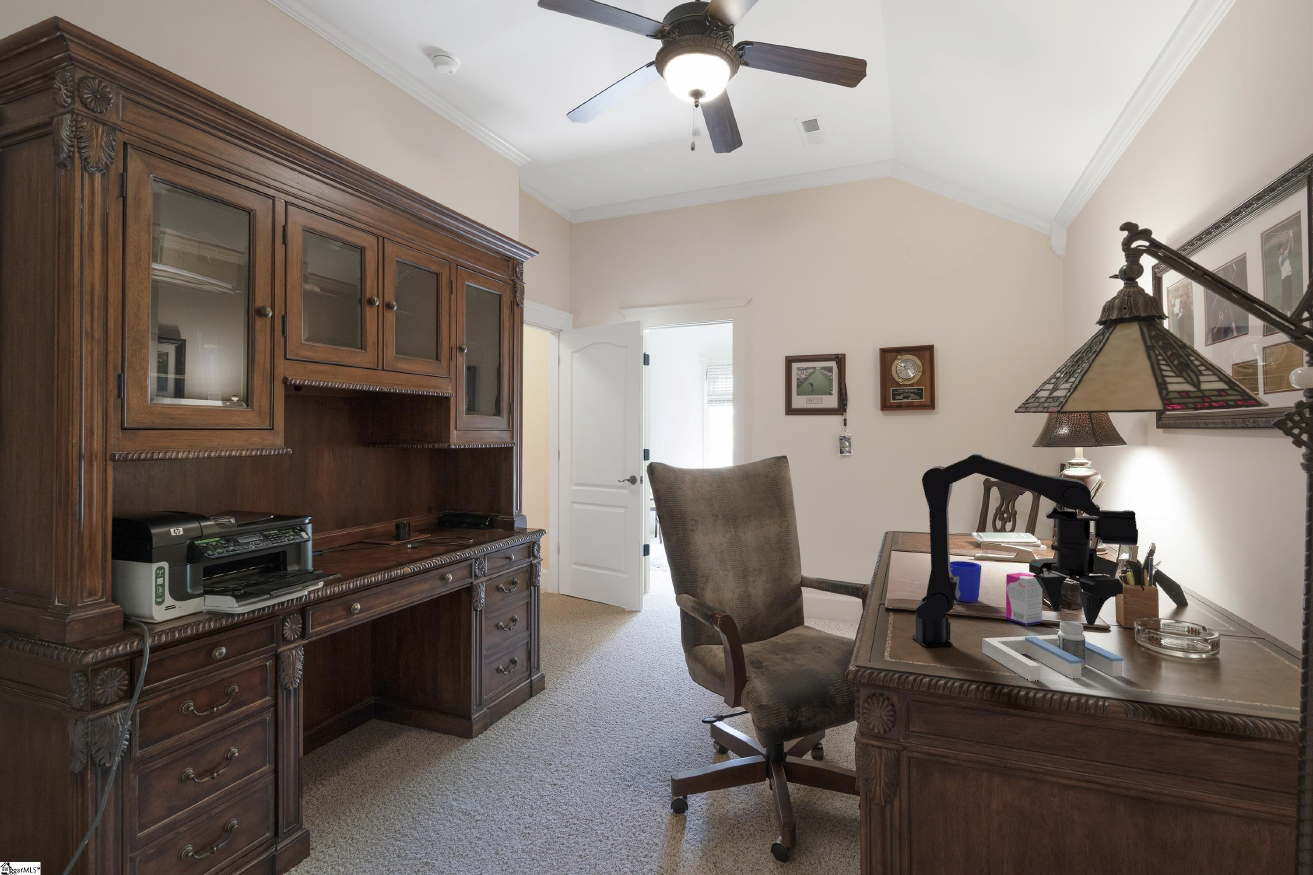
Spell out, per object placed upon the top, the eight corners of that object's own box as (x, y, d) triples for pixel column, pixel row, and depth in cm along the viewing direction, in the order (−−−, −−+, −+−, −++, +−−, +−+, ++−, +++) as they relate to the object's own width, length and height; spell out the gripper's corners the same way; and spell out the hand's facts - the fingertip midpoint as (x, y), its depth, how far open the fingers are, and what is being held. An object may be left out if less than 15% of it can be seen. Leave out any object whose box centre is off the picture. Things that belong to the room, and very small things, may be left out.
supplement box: (1043, 622, 152) (1043, 576, 152) (1026, 626, 150) (1026, 579, 149) (1021, 615, 157) (1021, 571, 157) (1004, 618, 155) (1004, 573, 155)
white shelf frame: (1030, 681, 119) (1030, 662, 119) (982, 652, 134) (982, 635, 134) (1123, 676, 120) (1123, 657, 120) (1065, 647, 135) (1065, 631, 135)
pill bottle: (1091, 667, 125) (1091, 626, 124) (1071, 670, 124) (1071, 628, 123) (1070, 659, 129) (1071, 619, 129) (1051, 661, 128) (1052, 621, 128)
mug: (930, 598, 173) (930, 563, 173) (965, 594, 177) (965, 559, 176) (952, 607, 165) (952, 570, 165) (988, 602, 169) (988, 566, 169)
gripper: (1150, 549, 117) (1149, 631, 117) (1075, 531, 136) (1074, 602, 136) (1095, 551, 116) (1095, 633, 116) (1027, 533, 135) (1027, 604, 135)
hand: (1072, 617), depth 126 cm, fingers open, 9 cm apart
